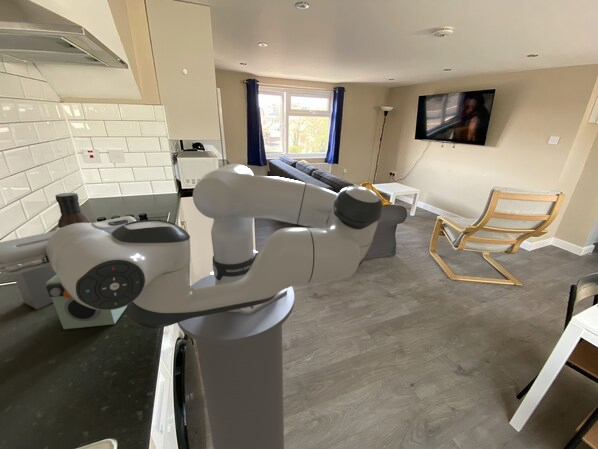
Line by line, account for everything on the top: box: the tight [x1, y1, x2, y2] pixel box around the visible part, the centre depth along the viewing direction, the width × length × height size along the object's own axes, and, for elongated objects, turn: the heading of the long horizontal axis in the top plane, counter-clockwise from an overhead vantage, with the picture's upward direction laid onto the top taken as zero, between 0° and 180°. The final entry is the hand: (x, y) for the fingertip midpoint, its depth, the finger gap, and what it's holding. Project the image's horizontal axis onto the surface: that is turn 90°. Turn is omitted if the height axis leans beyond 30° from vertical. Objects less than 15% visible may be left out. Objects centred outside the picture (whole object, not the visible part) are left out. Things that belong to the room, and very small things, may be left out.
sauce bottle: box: [55, 192, 92, 228], centre depth 65 cm, size 6×6×20 cm
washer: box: [46, 275, 127, 330], centre depth 70 cm, size 14×12×14 cm
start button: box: [63, 290, 72, 298], centre depth 62 cm, size 2×2×2 cm
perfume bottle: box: [12, 265, 57, 310], centre depth 75 cm, size 7×7×18 cm
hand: (66, 230), depth 52 cm, fingers closed
